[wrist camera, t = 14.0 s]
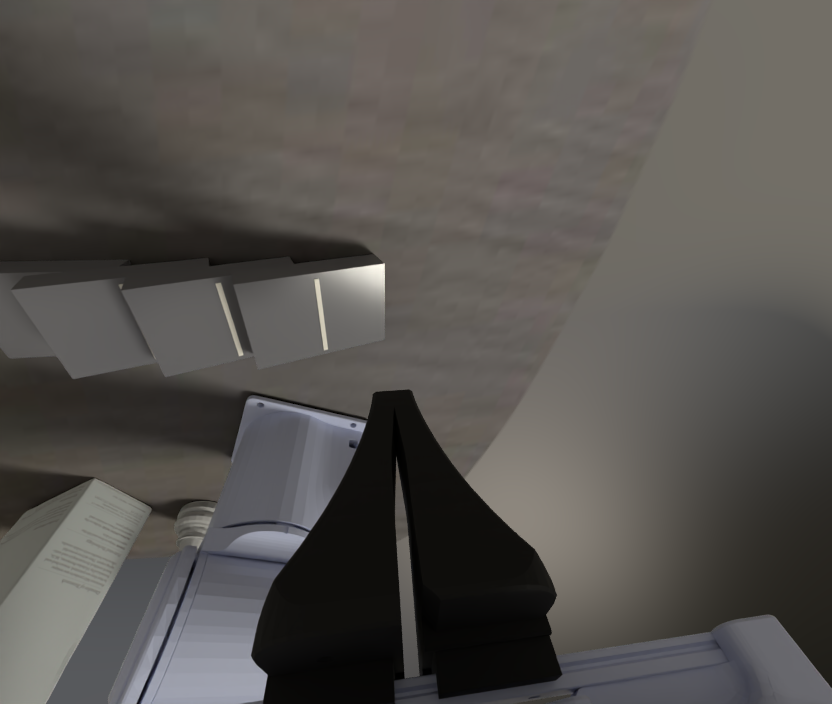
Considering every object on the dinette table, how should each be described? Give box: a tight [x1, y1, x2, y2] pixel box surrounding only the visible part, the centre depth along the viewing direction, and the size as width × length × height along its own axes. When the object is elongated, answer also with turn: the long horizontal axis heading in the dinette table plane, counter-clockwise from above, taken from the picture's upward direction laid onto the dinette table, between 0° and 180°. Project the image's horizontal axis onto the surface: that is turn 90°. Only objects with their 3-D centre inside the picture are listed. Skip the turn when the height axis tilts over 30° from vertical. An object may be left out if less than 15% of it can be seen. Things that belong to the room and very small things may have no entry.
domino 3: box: [121, 256, 293, 377], centre depth 18 cm, size 2×5×8 cm
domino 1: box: [0, 260, 131, 359], centre depth 19 cm, size 2×5×8 cm
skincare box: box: [0, 478, 152, 704], centre depth 24 cm, size 8×6×15 cm
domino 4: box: [231, 254, 385, 370], centre depth 19 cm, size 2×5×8 cm
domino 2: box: [11, 258, 211, 379], centre depth 18 cm, size 2×5×8 cm
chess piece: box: [174, 501, 217, 552], centre depth 28 cm, size 4×4×10 cm
